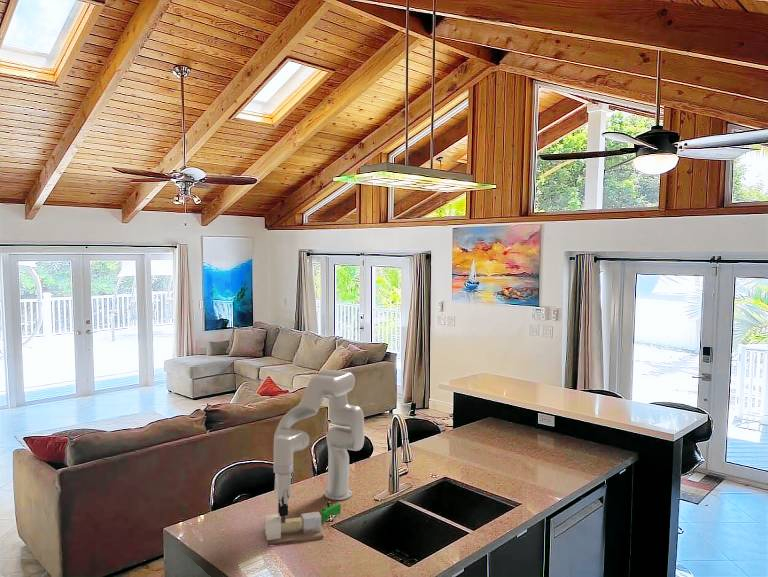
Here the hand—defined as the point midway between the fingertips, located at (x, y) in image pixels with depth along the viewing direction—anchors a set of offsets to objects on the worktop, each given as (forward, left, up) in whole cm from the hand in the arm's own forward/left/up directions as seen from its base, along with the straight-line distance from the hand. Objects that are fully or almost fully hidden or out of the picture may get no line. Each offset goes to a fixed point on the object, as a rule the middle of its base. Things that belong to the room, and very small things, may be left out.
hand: (283, 513), depth 224 cm
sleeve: (0, +11, -8) cm, 14 cm away
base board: (0, +4, -9) cm, 10 cm away
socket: (0, -4, -8) cm, 9 cm away
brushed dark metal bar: (0, +2, -6) cm, 6 cm away
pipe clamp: (-12, +21, -10) cm, 26 cm away
